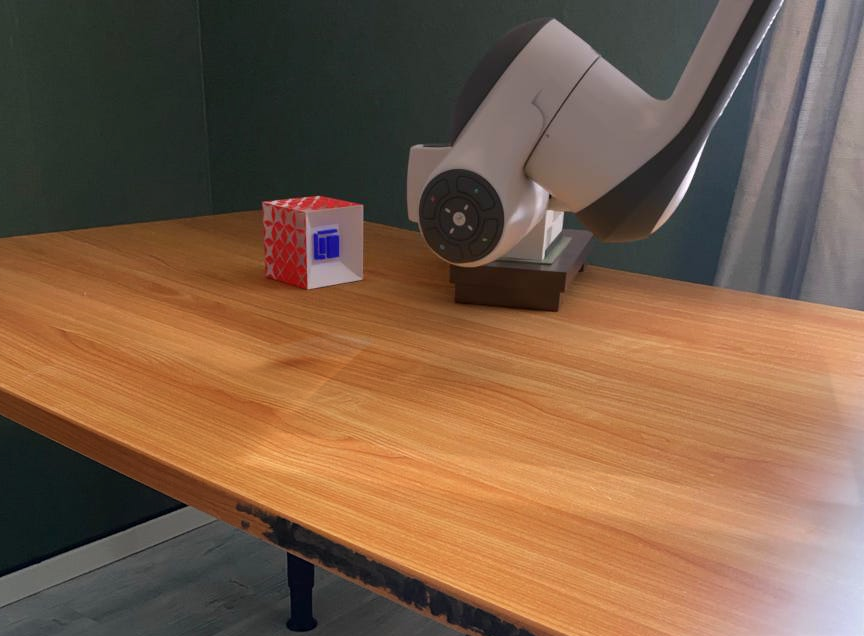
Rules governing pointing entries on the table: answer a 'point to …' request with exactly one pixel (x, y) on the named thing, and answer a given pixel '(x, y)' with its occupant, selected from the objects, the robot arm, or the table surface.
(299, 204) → the red and white cube
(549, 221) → the white upright block
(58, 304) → the table surface
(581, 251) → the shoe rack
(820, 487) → the table surface
